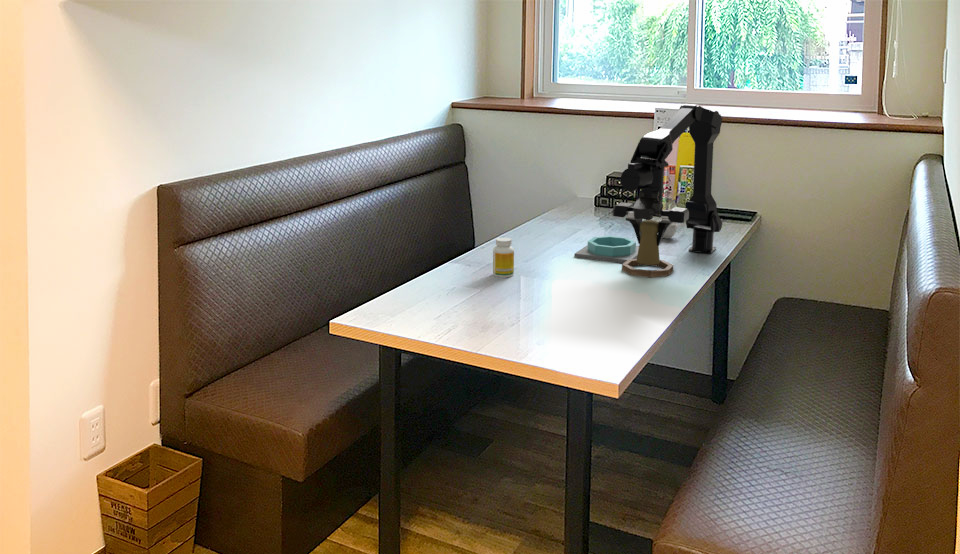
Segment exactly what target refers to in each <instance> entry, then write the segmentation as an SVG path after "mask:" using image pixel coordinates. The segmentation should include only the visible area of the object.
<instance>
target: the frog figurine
mask: <svg viewBox="0 0 960 554" xmlns="http://www.w3.org/2000/svg"><path fill="white" fill-rule="evenodd" d="M661 220H662V219H661V218H660V219H659V220H658V222H659V221H661ZM678 229H679V226H678V223H675V222H673V223H672V224H670V225H669V226H668V228H667V229H666V231H665V233H664V236H663V238H664V239H666V240H667V239H672V238H673V237H674V236H675V235H676V232H677V230H678ZM663 238H662V239H663Z"/></svg>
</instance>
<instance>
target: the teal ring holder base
mask: <svg viewBox="0 0 960 554" xmlns="http://www.w3.org/2000/svg"><path fill="white" fill-rule="evenodd" d="M638 250H639V245H637V243H636V241H635V240H633V239H631V238H629V237H624V236H623V237H622V236H615V235H605V236H604V235H602V236H593V237H592V238H590V239H589V240H587V245H585V246H584V247H583V248H581V249H579V250H578V251H576V252H575V253H574V255H573V256H574V258H578V259H579V258H581V259H588V260H597V261H605V262H606V261H607V262H610V263H612V262H613V263H620V264H623V263H624V262H626V261H627V260H630V259H637V255H638Z"/></svg>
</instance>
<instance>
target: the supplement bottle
mask: <svg viewBox="0 0 960 554" xmlns="http://www.w3.org/2000/svg"><path fill="white" fill-rule="evenodd" d="M512 241H513V240H512V238H510V237H498V238H495V246H494V247H493V250H492V275H493V276H494V277H496V278H500V277H502V279H507V278H506V277H508V278H511V277H513V276H514V272H515V271H514V270H515V267H514V266H515V265H514V264H515V248H514V247H513V246H511V245H512Z"/></svg>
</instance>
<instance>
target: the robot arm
mask: <svg viewBox="0 0 960 554" xmlns="http://www.w3.org/2000/svg"><path fill="white" fill-rule="evenodd" d="M722 124H723V117H722V115H721V114H720V113H719V111H717V110H712V109H711V110H710V109H707V108H705V107H703V106H700V105H699V104H690V103H684V104H681V105H680V107H679V109H678V111H677V112H676V113H675V114H673V115H672V116H671V117H670V118H669V119H668V120H667V121H666V122H665V123H664V124H663V125H662V126H661V127H660V128H659V129H657V130H654V131H650V132H648V133H646V134H645V135H643V136H642V137H641V138H640V139H639V140H638V143H637V146H636V148H635V151H634V153H633V155H632V157H631V159H630V161H629V162H630V163H628V164H627V168H626V169H624V170H623V172H622V173H621V175H620V179H619V180H620V184H621V186H622V188H623V189H624V190H626V191H627V192H635V191H638V190H639V192H638V198H637V200H636V201H635V203H632V202H623V201H622V202H621V201H620V202H619V203H617V204H616V205H614V206H613V208H612V216H613V217H614V218H615V217H617V218H624V217H626V218H625V221H627V222H629V223H630V224H631V226H632V228H633V229H634V233H635V236H636V239H637V243H638V245H639V244H640V239H641V231H640V224H641V222H642V221H643V220H653V218H654V217H657V218H658V217H659V218H660V219H662V220H661V221H659V220H658V221H657V222H658V224H659V229H658V236H657V246H659V247H660V245H661V242H662V240H663V236H664V233H665V231H666V229H667V228H668V226H669V225H670V224H672V223H673V222H675V223H676V224H684V223H685V224H686V226H685V227H686V229H692V230H693V231H692V243H691V244H692V246H690V247H689V248H688V252H693V253H694V252H696V253H703V254H712V253H714V251H715V250H717V247H715V246H714V237H715V236H714V234H715V233H719V232H720V231H722V228H723V221H722V219H721V217H720V215H719V214H718V213H719V212H718V210H717V209H718V207H717V205H718V204H717V202H716V200H715V198H714V196H713V195H712V184H713V183H712V181H713V180H712V179H713V162H714V161H713V159H714V157H713V156H714V143H715V141H716V139H717V138H718V136H719V135H720V133H721V128H722ZM687 129H688V130H689V135H690V137H691V139H692V140H693V142H694V155H693V156H694V158H693V179H692V180H693V184H692V185H693V187H692V195H691V197H690V198H689V200H686V202H685V203H684V206H685V208H684V207H672V208H670V209H669V210H667V209H664V203H663V200H664V192H665V188H664V183H665V181H664V180H665V168H667V167H669V163H668V162H667V161H666V159H667V158H668V157H669V155H671V152H673V144H674V142H675V141H677V139H679V138H680V136H682V134H684V133H685V131H686V130H687Z"/></svg>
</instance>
